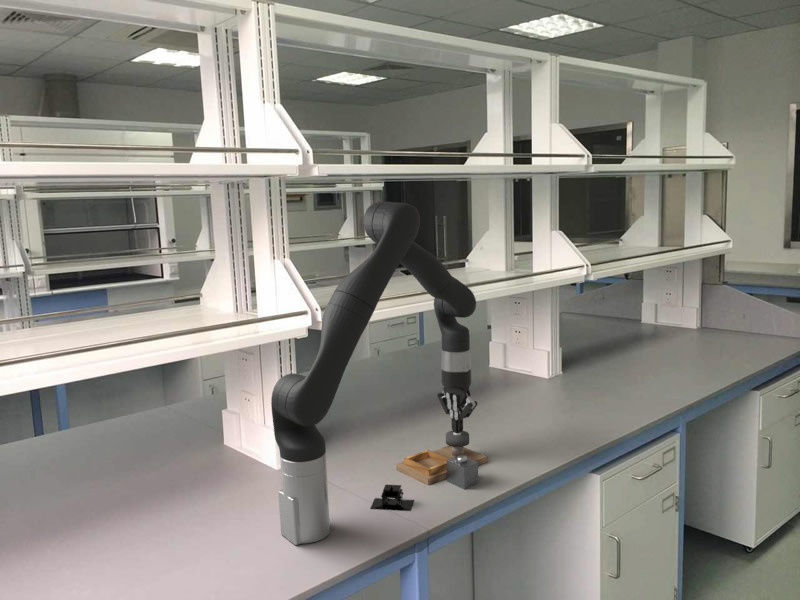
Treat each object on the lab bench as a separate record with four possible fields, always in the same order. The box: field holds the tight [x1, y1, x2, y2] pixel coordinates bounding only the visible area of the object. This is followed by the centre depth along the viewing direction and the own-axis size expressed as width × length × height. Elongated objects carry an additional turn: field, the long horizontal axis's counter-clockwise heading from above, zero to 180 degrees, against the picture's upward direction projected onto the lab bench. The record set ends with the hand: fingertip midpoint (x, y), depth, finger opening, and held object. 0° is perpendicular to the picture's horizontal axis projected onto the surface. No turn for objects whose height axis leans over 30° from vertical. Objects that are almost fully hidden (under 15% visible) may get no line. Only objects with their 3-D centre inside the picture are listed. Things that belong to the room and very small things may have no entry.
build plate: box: [369, 484, 415, 512], centre depth 148 cm, size 12×7×5 cm, turn 80°
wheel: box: [445, 430, 470, 447], centre depth 170 cm, size 6×6×3 cm
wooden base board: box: [396, 445, 488, 486], centre depth 167 cm, size 20×12×4 cm, turn 129°
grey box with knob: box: [446, 455, 479, 490], centre depth 157 cm, size 5×6×6 cm
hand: (457, 432), depth 170 cm, fingers closed
